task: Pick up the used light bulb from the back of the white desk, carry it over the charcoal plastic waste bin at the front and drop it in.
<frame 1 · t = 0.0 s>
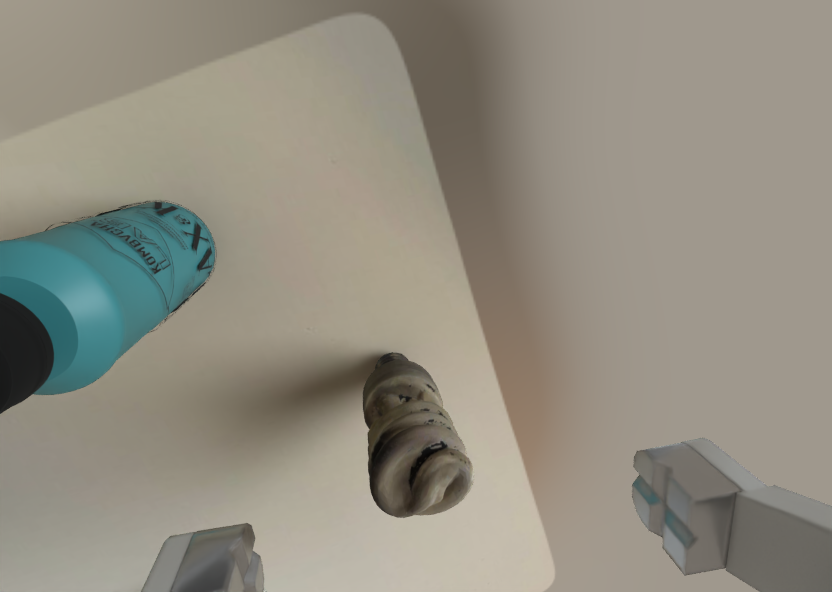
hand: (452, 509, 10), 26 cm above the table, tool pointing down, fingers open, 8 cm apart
beverage bottle: (175, 242, 33), on the table
light bulb: (395, 363, 38), on the table
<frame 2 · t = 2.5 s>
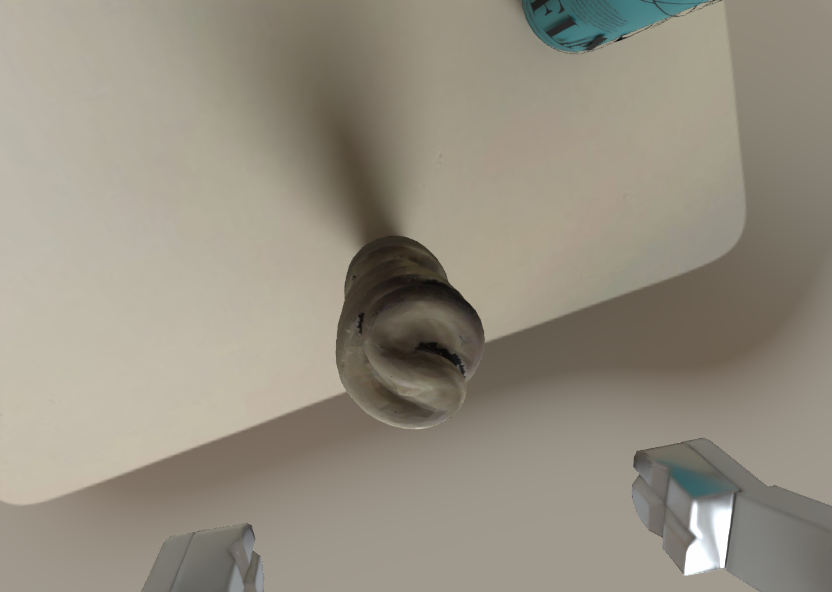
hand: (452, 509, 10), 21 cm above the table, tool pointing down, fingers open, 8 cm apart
light bulb: (385, 264, 30), on the table
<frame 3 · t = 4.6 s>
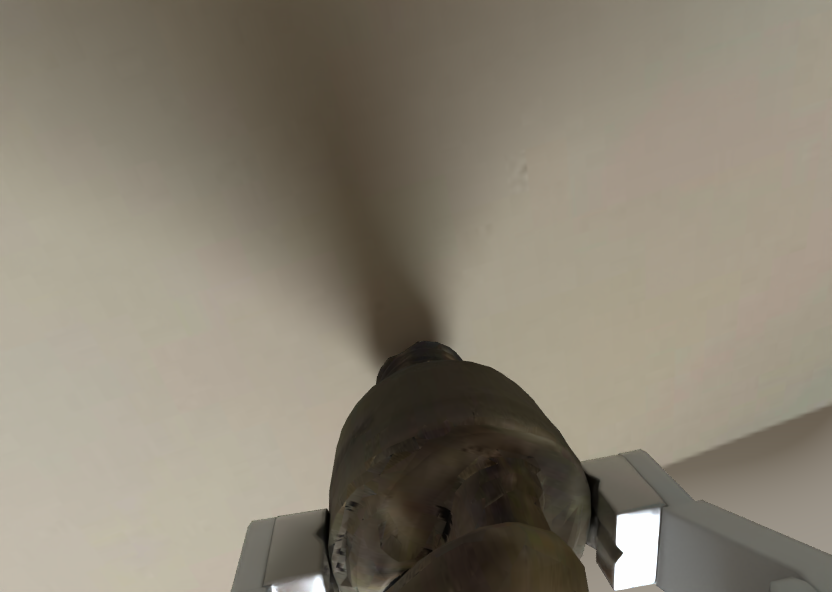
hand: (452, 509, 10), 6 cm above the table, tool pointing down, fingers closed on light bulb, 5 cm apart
light bulb: (412, 372, 16), on the table, touching gripper
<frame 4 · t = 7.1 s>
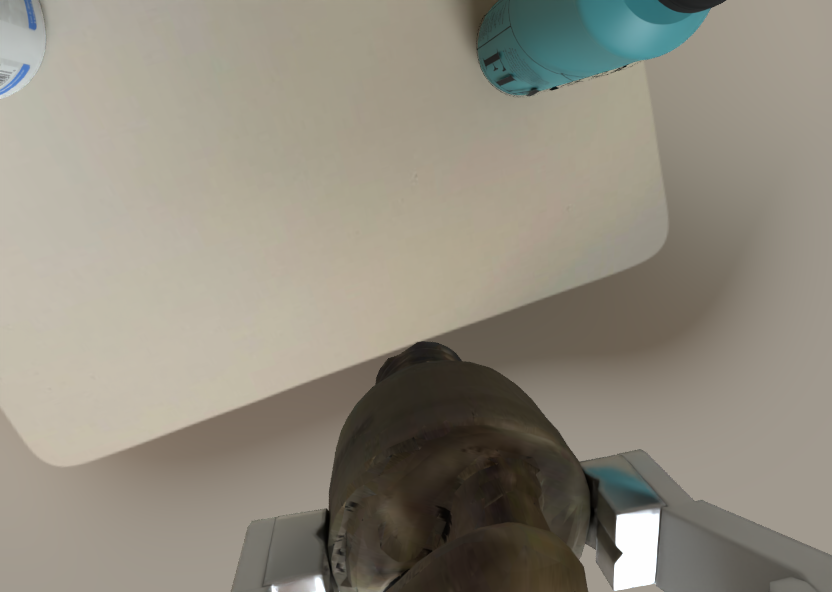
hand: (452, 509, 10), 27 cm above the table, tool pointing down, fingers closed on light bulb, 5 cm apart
beverage bottle: (512, 50, 33), on the table
light bulb: (411, 372, 16), point 21 cm above the table, touching gripper
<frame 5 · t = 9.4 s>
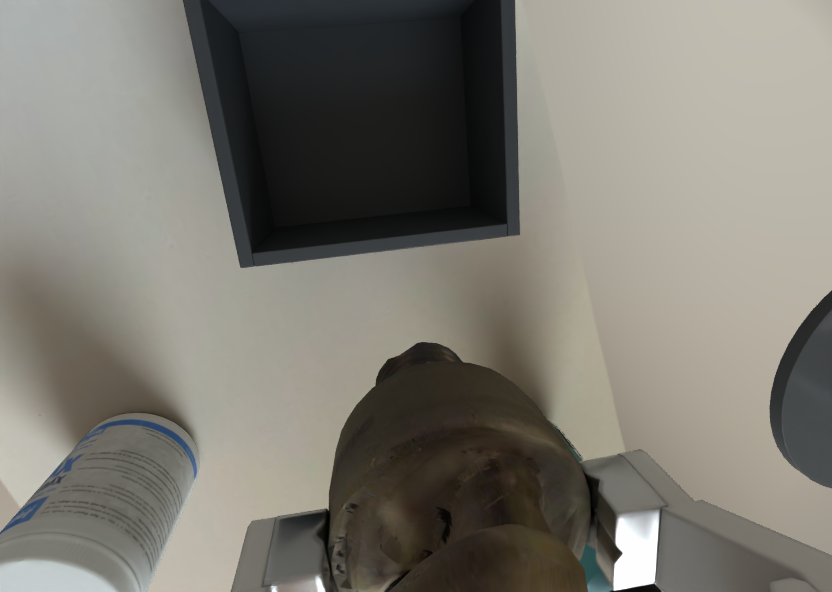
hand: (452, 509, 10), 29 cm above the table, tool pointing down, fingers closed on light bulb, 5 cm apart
supplement tub: (145, 456, 41), on the table
beverage bottle: (522, 434, 45), on the table
bin: (363, 126, 35), on the table
light bulb: (411, 373, 16), point 23 cm above the table, touching gripper
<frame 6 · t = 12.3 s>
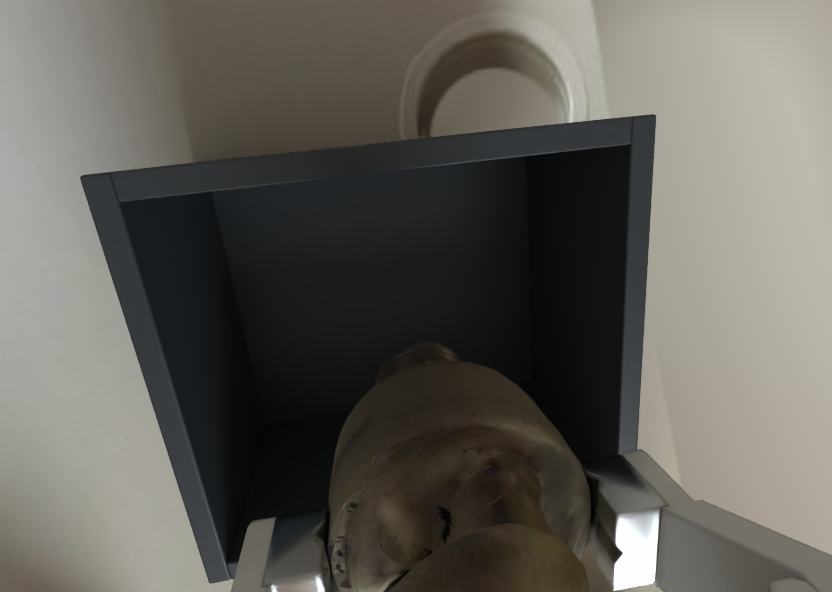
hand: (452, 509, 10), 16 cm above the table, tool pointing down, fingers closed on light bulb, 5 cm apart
bin: (387, 286, 25), on the table
light bulb: (411, 372, 16), point 10 cm above the table, touching gripper
when the fingers open (9 cm above the table, at t = 14.6 s): light bulb drops 2 cm, resting on bin.
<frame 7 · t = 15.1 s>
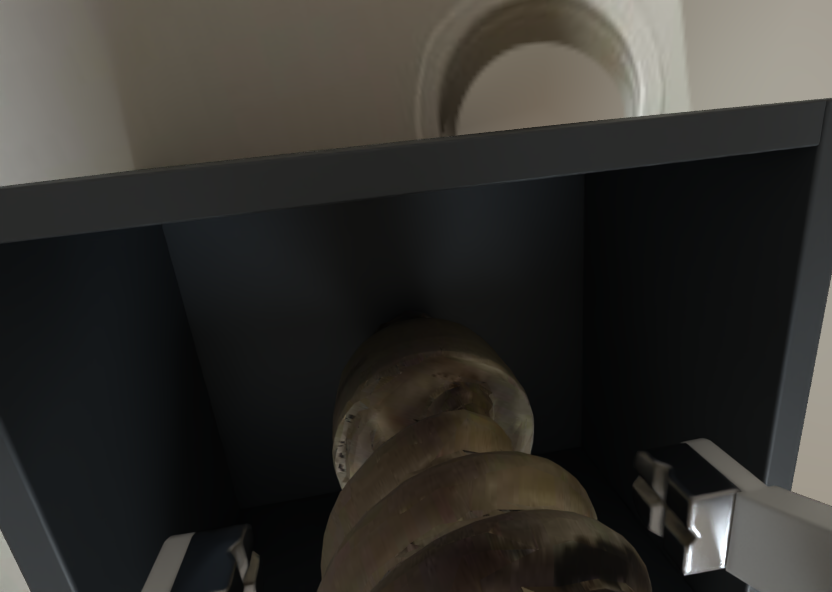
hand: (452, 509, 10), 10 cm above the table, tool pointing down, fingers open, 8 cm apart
bin: (397, 330, 19), on the table
light bulb: (401, 339, 19), point 1 cm above the table, touching bin
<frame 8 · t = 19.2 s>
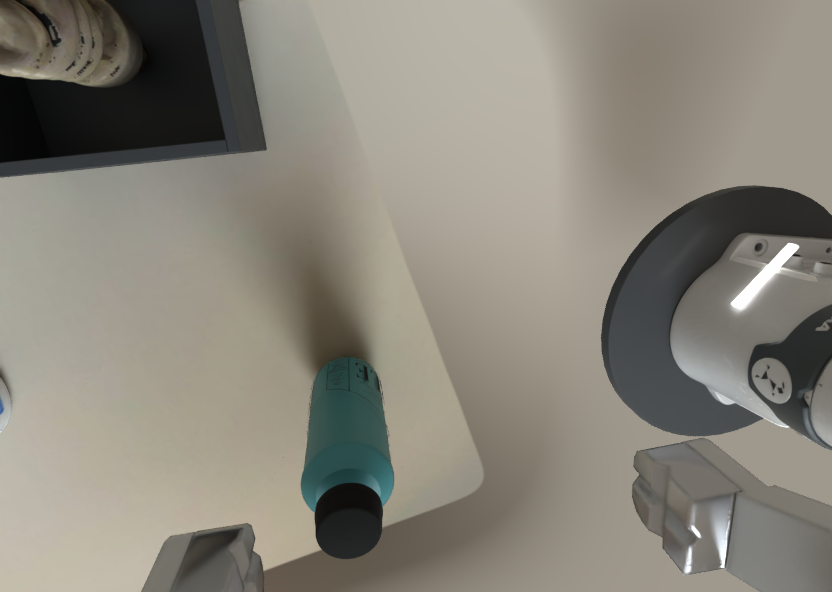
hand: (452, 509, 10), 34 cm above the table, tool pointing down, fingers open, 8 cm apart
beverage bottle: (347, 376, 46), on the table
bin: (136, 61, 36), on the table
light bulb: (132, 60, 35), point 1 cm above the table, touching bin
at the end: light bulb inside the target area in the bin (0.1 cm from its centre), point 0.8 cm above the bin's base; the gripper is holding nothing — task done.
